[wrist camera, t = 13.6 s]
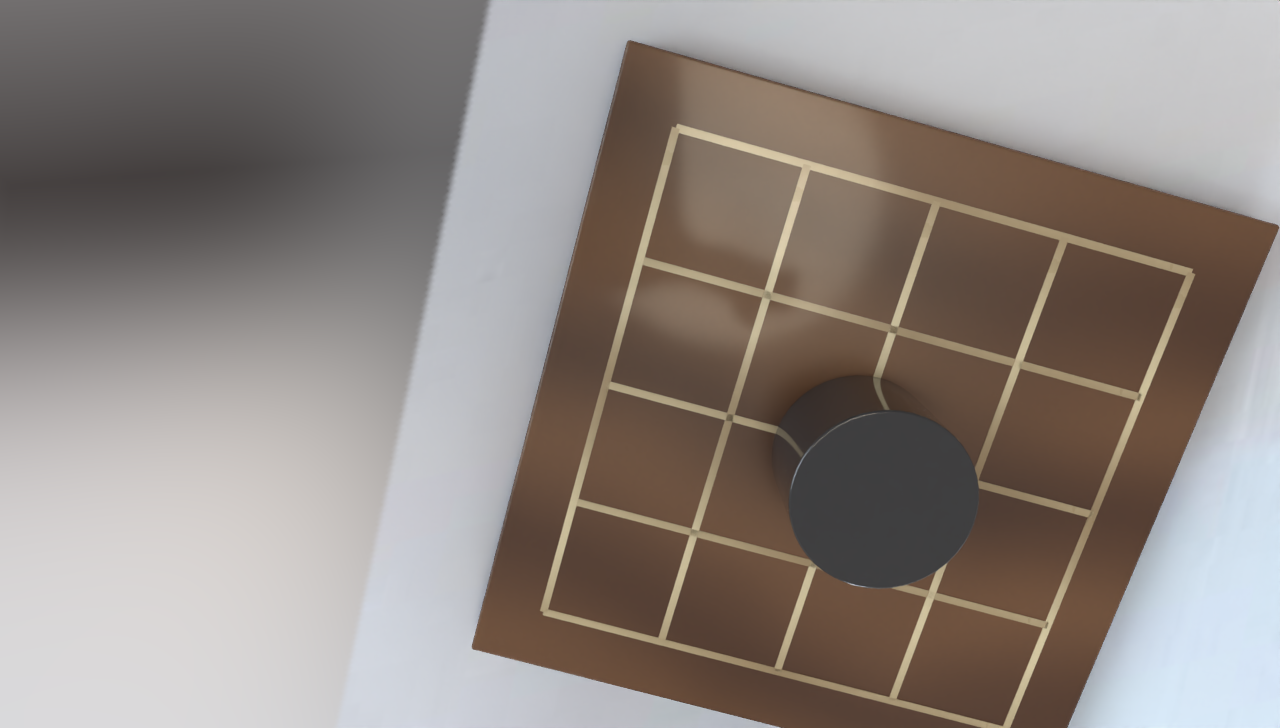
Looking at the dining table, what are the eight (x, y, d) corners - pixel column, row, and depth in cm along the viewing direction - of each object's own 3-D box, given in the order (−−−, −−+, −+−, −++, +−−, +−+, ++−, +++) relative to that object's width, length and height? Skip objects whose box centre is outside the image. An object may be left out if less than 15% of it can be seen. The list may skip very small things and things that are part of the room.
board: (629, 44, 29) (627, 39, 27) (1250, 221, 30) (1281, 226, 28) (478, 627, 33) (470, 650, 32) (1023, 766, 34) (1040, 794, 33)
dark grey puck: (737, 441, 30) (750, 486, 26) (875, 341, 29) (908, 372, 25) (835, 562, 31) (860, 623, 27) (970, 468, 30) (1016, 517, 26)
